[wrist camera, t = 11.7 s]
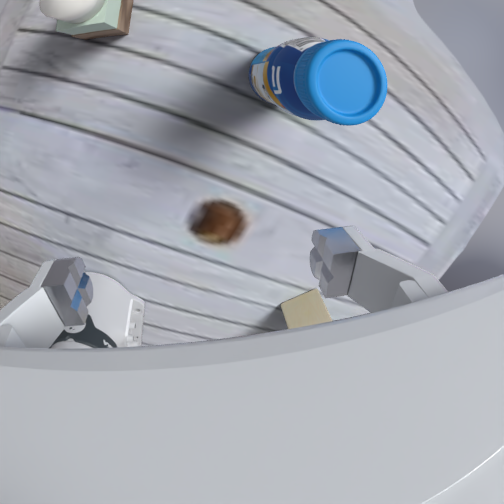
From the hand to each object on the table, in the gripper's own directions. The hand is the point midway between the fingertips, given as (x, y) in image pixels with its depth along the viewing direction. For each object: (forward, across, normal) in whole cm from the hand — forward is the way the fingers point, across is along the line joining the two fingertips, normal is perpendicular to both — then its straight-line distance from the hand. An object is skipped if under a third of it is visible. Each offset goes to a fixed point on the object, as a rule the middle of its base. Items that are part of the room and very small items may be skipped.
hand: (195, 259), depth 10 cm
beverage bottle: (+31, -11, -5) cm, 34 cm away
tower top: (+26, +11, -16) cm, 33 cm away
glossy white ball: (+21, +11, -16) cm, 29 cm away
